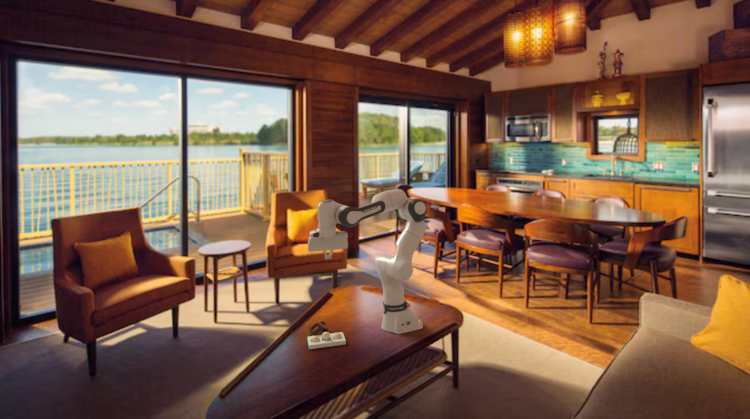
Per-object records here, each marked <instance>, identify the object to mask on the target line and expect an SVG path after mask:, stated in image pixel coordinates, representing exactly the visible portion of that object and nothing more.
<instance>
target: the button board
mask: <svg viewBox="0 0 750 419" xmlns="http://www.w3.org/2000/svg"><path fill="white" fill-rule="evenodd" d="M336 333H337V332H332V333H330V340H326V341H324V340H323V335H322V334H318V335H316V336H318V337H319V341H318V342H312V339H311V338H312V337H313V336H310V335H309V336H306V338H307V344H308V350H314V349H321V348H322V349H323V348H328V347H337V346H344V345H346V344H347V339H346V337H345V335H344V332H342V331H341V332H340V331H339V332H338V333H339V334H341V339H334V334H336Z"/></svg>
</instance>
